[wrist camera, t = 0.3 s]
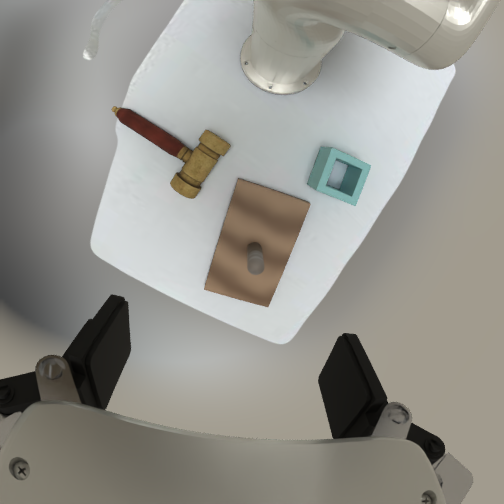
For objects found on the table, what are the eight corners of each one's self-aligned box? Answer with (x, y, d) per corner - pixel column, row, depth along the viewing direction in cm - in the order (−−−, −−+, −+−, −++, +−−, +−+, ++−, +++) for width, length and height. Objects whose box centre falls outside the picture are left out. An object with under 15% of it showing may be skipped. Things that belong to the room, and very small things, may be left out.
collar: (320, 146, 41) (332, 147, 35) (356, 162, 42) (371, 165, 36) (307, 184, 43) (316, 190, 38) (342, 198, 44) (355, 206, 39)
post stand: (238, 178, 43) (236, 186, 35) (308, 202, 44) (321, 215, 36) (205, 285, 50) (198, 311, 42) (267, 302, 51) (271, 330, 43)
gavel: (91, 133, 36) (122, 79, 33) (105, 133, 40) (134, 85, 37) (190, 201, 40) (229, 145, 37) (197, 196, 44) (232, 146, 41)
